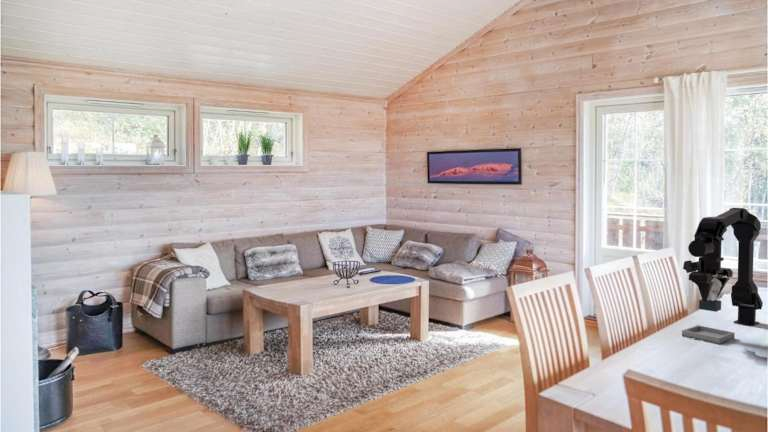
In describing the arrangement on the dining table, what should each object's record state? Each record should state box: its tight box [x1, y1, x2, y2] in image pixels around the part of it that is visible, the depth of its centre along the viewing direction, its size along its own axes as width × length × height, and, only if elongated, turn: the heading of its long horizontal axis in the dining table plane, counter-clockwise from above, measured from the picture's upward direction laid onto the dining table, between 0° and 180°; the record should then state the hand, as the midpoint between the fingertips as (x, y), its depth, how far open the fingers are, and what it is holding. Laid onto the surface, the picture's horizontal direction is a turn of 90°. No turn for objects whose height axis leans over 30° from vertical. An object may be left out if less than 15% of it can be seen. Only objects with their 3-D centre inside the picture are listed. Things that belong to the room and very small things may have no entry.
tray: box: [681, 324, 735, 345], centre depth 208 cm, size 11×13×2 cm
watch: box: [698, 278, 722, 312], centre depth 207 cm, size 6×8×11 cm
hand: (710, 299), depth 207 cm, fingers closed on watch, 8 cm apart
